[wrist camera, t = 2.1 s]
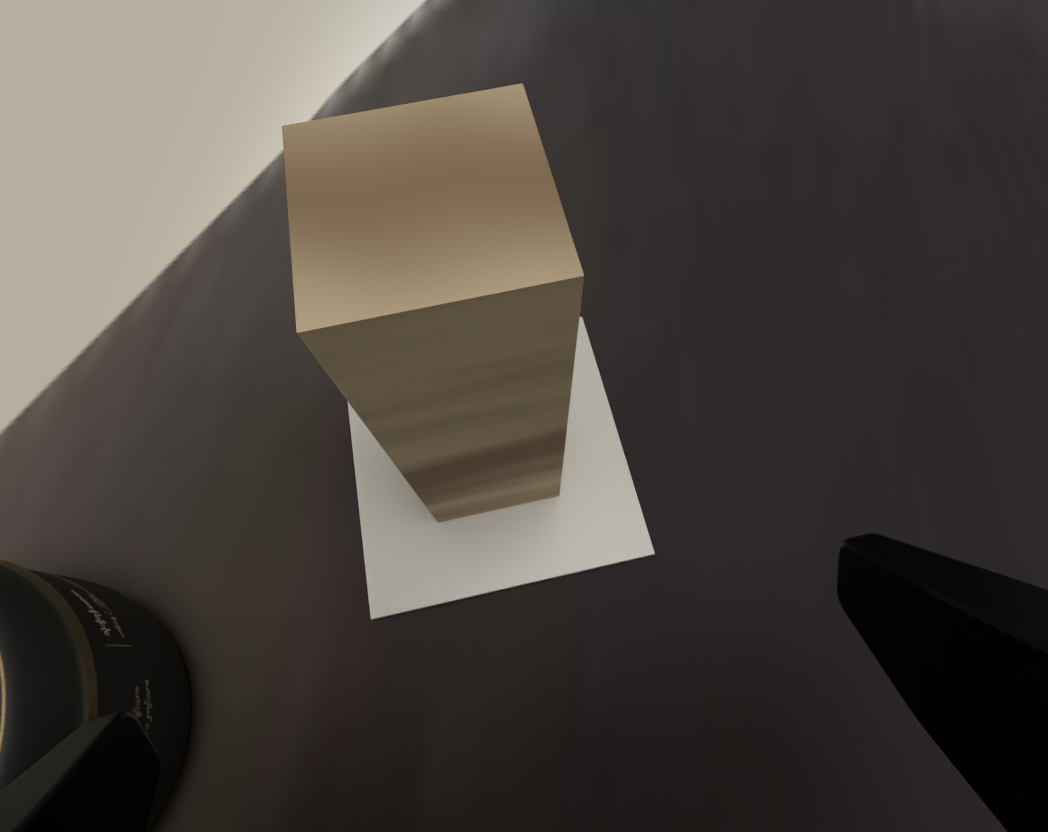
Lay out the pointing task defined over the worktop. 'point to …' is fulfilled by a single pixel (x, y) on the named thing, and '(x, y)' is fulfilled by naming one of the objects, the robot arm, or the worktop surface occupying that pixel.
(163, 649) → the jar
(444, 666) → the worktop surface
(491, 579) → the card
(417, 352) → the oak block
